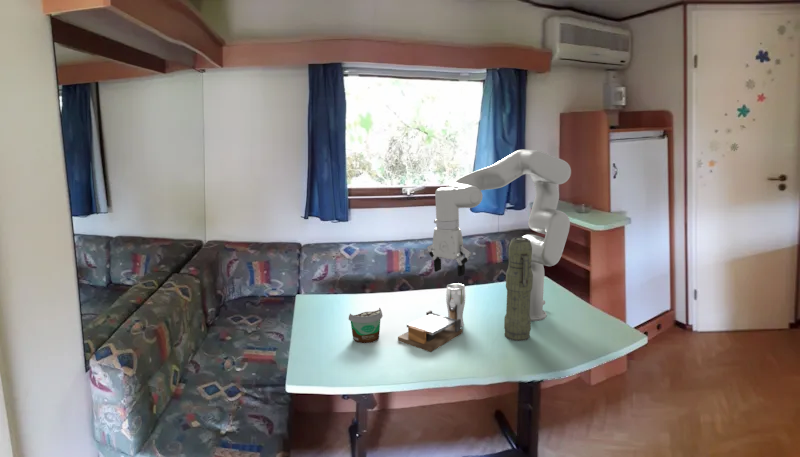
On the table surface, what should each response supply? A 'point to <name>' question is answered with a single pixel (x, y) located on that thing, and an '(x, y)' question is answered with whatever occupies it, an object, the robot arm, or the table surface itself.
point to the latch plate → (434, 342)
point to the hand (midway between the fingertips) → (449, 272)
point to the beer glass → (455, 301)
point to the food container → (366, 326)
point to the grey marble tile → (433, 323)
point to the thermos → (518, 290)
